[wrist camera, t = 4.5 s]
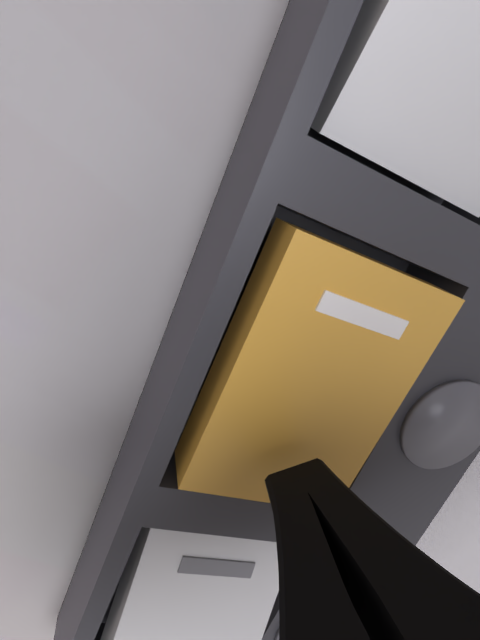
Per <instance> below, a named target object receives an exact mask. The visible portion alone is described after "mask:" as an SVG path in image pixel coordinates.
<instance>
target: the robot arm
mask: <svg viewBox="0 0 480 640" xmlns="http://www.w3.org/2000/svg"><path fill="white" fill-rule="evenodd" d="M265 484H266V488H267V492H268V496H269V499H270V503H271V507H272V511H273V516H274V524H275V532H276V544H277V557H278V572H279V640H480V594H479V593H478V592H476V591H475V590H473V589H472V588H470V587H469V586H468V585H466V584H465V583H463V582H462V581H461V580H459V579H458V578H457V577H455V576H454V575H452V574H451V573H450V572H448V571H447V570H446V569H444V568H443V567H442V566H440V565H439V564H438V563H436V562H435V561H434V560H433V559H431V558H430V557H429V556H427V555H426V554H425V553H424V552H422V551H421V550H420V549H418V548H417V547H416V546H415V545H413V544H412V543H411V542H410V541H408V540H407V539H406V538H405V537H404V536H402V535H401V534H400V533H399V532H398V531H396V530H395V529H394V528H393V527H392V526H391V525H389V524H388V523H387V522H386V521H385V520H384V519H382V518H381V517H380V516H379V515H378V514H377V513H375V512H374V511H373V510H372V509H371V508H370V507H369V506H368V505H366V504H365V503H364V502H363V501H362V500H361V499H360V498H359V497H358V496H357V495H356V494H355V493H354V492H353V491H351V490H350V489H349V488H348V487H347V486H346V485H345V484H344V483H343V482H342V481H341V480H340V479H339V478H338V477H337V476H336V475H335V474H334V473H333V472H332V471H331V469H330V468H329V467H328V466H327V465H326V464H325V463H324V462H323V461H322V460H320V459H318V458H316V459H313V460H310V461H307V462H304V463H301V464H299V465H296V466H293V467H290V468H287V469H284V470H281V471H278V472H275V473H272V474H269V475H268V476H267V477H266V479H265Z"/></svg>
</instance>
